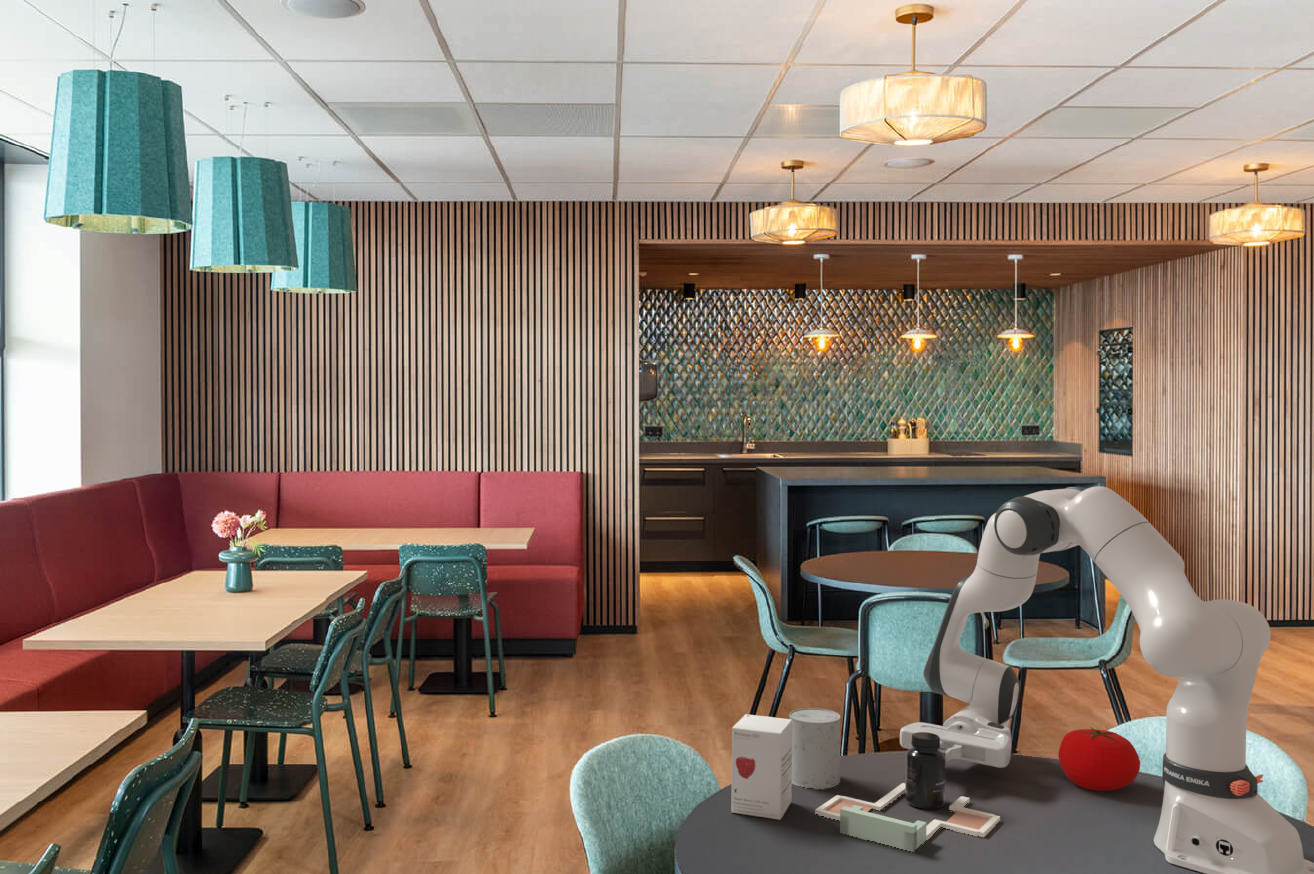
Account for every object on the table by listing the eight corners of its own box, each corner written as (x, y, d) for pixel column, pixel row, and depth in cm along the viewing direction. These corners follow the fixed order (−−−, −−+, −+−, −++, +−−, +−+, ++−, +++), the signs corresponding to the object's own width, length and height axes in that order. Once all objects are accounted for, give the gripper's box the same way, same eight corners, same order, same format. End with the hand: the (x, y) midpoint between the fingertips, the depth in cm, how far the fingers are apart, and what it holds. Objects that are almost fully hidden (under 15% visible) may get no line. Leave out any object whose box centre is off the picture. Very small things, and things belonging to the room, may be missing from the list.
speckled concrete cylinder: (810, 768, 196) (810, 705, 196) (850, 781, 189) (851, 715, 189) (778, 779, 189) (778, 714, 189) (818, 793, 182) (819, 726, 182)
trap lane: (867, 779, 190) (867, 758, 189) (1009, 811, 174) (1009, 788, 174) (801, 823, 169) (802, 799, 169) (957, 864, 153) (957, 838, 153)
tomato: (1041, 778, 190) (1042, 724, 190) (1089, 768, 196) (1089, 715, 196) (1105, 804, 177) (1106, 745, 177) (1154, 792, 183) (1155, 735, 183)
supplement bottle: (946, 812, 174) (947, 743, 173) (906, 808, 175) (906, 740, 175) (943, 797, 180) (944, 731, 180) (904, 794, 182) (904, 728, 182)
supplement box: (729, 813, 173) (729, 726, 173) (743, 795, 181) (743, 712, 181) (781, 821, 170) (781, 732, 169) (793, 802, 178) (793, 718, 178)
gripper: (914, 710, 201) (886, 727, 190) (1019, 729, 189) (995, 749, 178) (914, 741, 201) (886, 760, 190) (1018, 763, 189) (995, 784, 178)
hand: (940, 755), depth 184 cm, fingers closed
